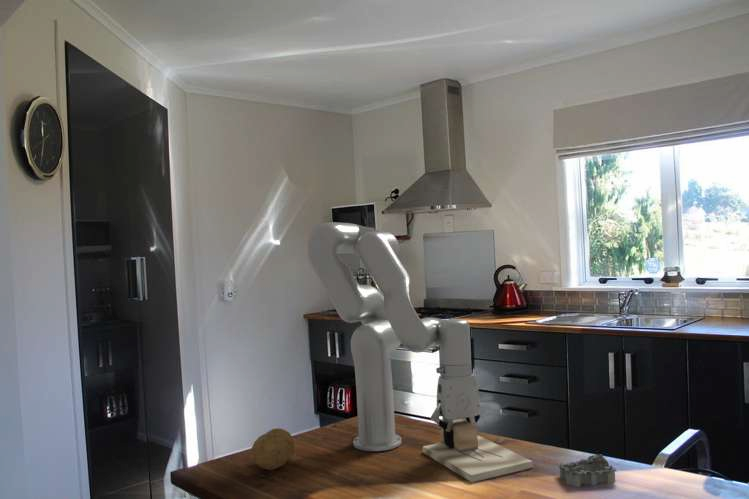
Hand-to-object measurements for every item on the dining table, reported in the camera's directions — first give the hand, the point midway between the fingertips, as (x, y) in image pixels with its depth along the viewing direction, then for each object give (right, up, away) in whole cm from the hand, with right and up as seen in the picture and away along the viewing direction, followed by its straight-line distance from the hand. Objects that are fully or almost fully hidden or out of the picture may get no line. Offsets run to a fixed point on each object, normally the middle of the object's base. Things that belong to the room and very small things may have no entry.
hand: (459, 443), depth 144 cm
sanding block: (0, -1, 0) cm, 1 cm away
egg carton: (+24, -1, -20) cm, 32 cm away
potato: (-45, -5, -3) cm, 45 cm away
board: (+3, -2, -6) cm, 7 cm away
